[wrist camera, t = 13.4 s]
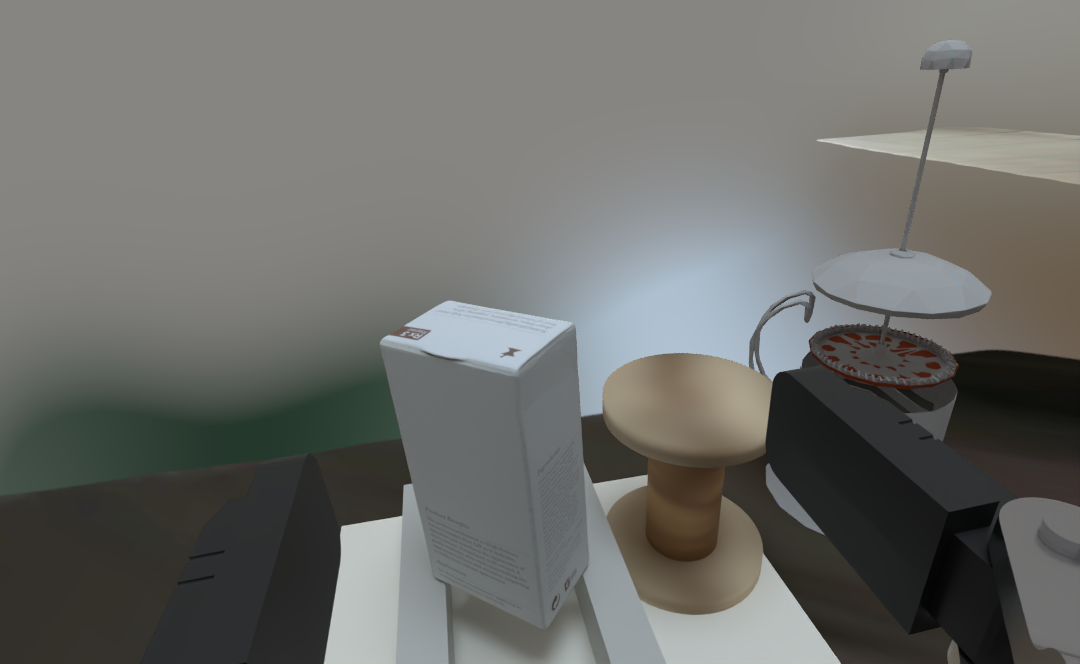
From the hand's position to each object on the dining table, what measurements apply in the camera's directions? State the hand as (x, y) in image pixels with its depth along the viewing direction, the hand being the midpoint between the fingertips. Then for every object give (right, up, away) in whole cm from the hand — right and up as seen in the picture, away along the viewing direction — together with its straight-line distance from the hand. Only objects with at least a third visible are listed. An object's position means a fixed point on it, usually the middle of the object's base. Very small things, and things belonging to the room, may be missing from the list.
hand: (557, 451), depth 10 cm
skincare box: (-2, -9, +16) cm, 18 cm away
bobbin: (+7, -9, +20) cm, 23 cm away
